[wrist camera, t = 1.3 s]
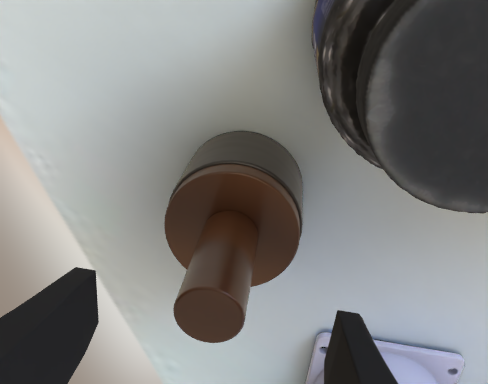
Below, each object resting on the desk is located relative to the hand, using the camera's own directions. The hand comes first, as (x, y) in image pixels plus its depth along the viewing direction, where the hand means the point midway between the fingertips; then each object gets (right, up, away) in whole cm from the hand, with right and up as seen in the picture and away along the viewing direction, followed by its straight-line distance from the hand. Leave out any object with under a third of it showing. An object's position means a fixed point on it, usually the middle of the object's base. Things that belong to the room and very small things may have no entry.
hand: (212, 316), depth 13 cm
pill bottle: (+7, +10, +4) cm, 13 cm away
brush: (+1, +4, +8) cm, 9 cm away
